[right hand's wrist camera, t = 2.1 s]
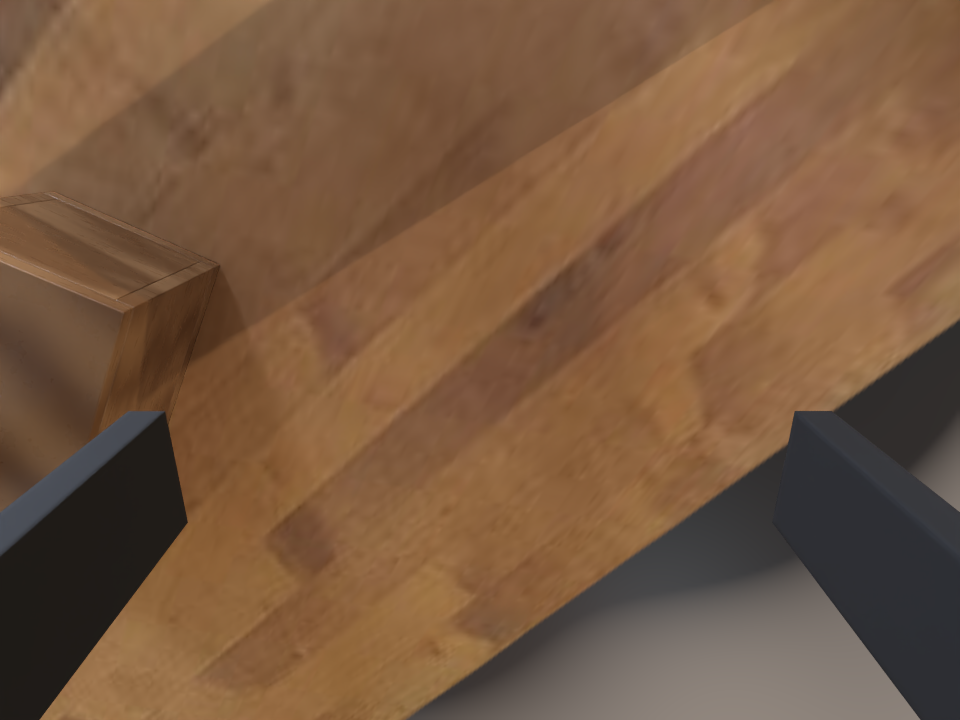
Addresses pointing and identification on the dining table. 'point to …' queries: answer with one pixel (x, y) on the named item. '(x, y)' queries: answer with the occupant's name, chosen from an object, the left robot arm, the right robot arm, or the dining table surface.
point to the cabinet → (86, 329)
